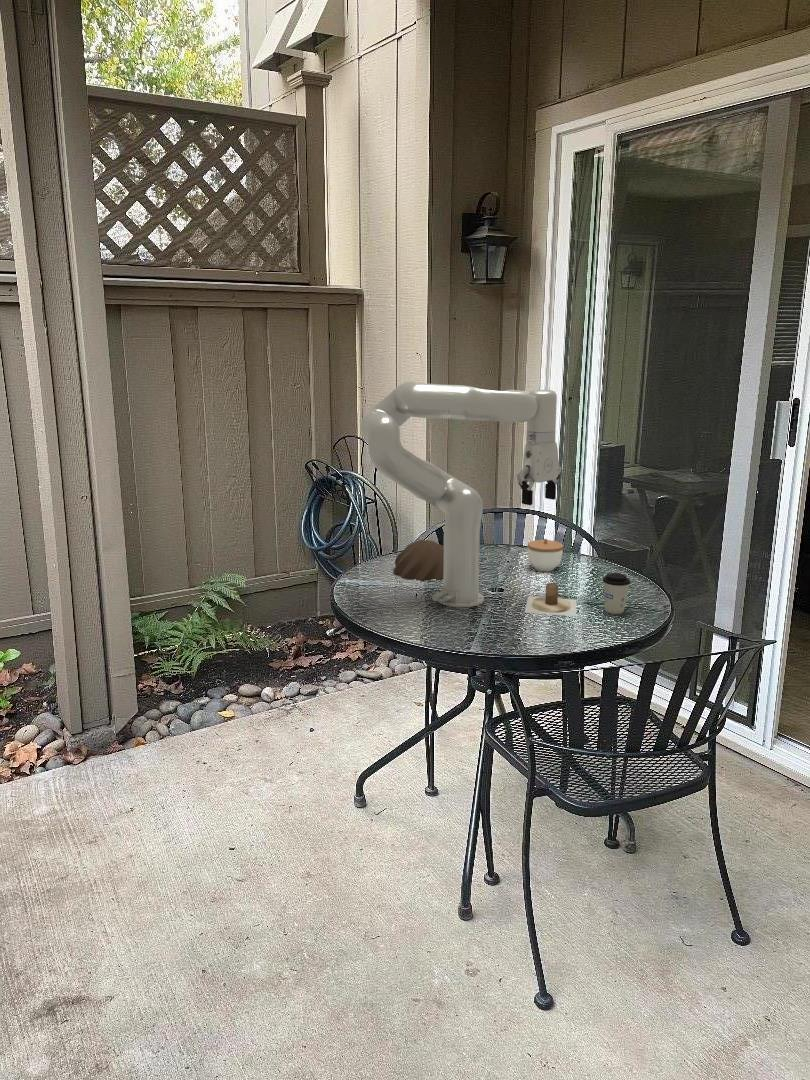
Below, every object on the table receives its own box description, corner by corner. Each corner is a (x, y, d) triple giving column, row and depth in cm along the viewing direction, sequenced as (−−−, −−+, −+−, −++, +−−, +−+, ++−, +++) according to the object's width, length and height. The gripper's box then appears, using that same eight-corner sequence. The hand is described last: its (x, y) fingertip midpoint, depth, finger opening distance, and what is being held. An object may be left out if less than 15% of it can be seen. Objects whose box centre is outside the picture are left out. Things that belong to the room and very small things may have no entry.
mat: (575, 618, 198) (576, 616, 198) (524, 614, 201) (524, 612, 201) (576, 601, 210) (576, 599, 210) (528, 598, 213) (528, 596, 213)
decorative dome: (379, 571, 237) (379, 540, 235) (425, 559, 251) (425, 529, 248) (424, 586, 224) (424, 552, 221) (470, 572, 237) (471, 540, 234)
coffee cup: (624, 608, 205) (627, 571, 203) (631, 617, 198) (634, 580, 196) (597, 607, 205) (600, 571, 203) (603, 617, 199) (606, 579, 196)
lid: (557, 615, 198) (558, 593, 197) (524, 606, 205) (525, 585, 204) (577, 605, 206) (579, 584, 204) (545, 597, 212) (546, 576, 211)
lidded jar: (524, 563, 245) (526, 534, 243) (559, 563, 245) (560, 534, 242) (528, 573, 235) (530, 543, 232) (564, 573, 234) (566, 543, 232)
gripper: (530, 442, 196) (528, 508, 201) (572, 435, 207) (570, 498, 212) (508, 439, 202) (506, 504, 206) (550, 433, 213) (548, 494, 217)
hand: (538, 501), depth 209 cm, fingers open, 9 cm apart
